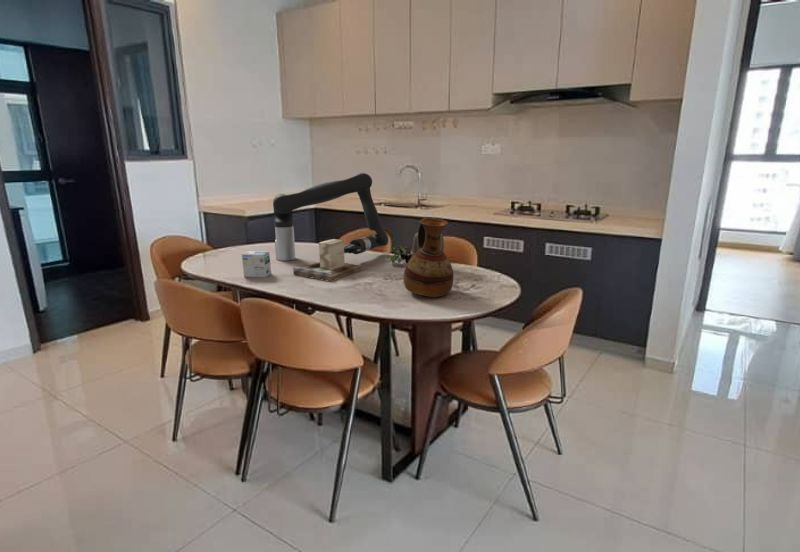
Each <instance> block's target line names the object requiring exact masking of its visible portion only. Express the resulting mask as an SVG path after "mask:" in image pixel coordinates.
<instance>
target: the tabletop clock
mask: <svg viewBox="0 0 800 552" xmlns="http://www.w3.org/2000/svg"><path fill="white" fill-rule="evenodd" d="M426 218H432V217H429V216H427V217H424V218H422V219H421V220H423V219H426ZM444 241H445V240H444V236H443V233H441V236H440V242H439V243H440V250H441V251H442V252H443V253H444V248H445V242H444ZM411 246H412V247H411V254H413V255H414V254H415V253H416V252H417V251H418V249H419V248H418V232H415V234H414V236H413V240H412V245H411Z"/></svg>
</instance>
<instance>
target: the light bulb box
mask: <svg viewBox="0 0 800 552" xmlns="http://www.w3.org/2000/svg"><path fill="white" fill-rule="evenodd" d="M241 258H242V259H241V262H242V270H243V277H244V278H267V277H269V276H271V274H272V267H271V256H270V251H268V250H267V251H263V250H262V251H257V250H255V251H253V250H252V251H250V250H248V251H246V252H243V253H241Z"/></svg>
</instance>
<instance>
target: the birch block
mask: <svg viewBox="0 0 800 552" xmlns="http://www.w3.org/2000/svg"><path fill="white" fill-rule="evenodd" d="M344 246H345V240H343V239H336V238H332V239H326V240H324V241H320V242H318V250H319V251H318V254H319V255H318V256H319V262H320V268H324V269H329V270H332V269H335V268H338V267H341V266H344V265H345V263H346V262H345V253H344Z"/></svg>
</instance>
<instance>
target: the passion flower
mask: <svg viewBox="0 0 800 552" xmlns="http://www.w3.org/2000/svg"><path fill="white" fill-rule="evenodd" d="M393 250H394V254H393V255H390V254H388V255H387V257H386V258H387V259H388V262H391V264H395V263H396V260H397V266H396V267H398V266H399V265H400V263H402V261H404V260H405V263H406V264H407V263H408V261H409V260H410V258H411V257H412V256H413V254H412V249H411V248H410V247H407V246H400V245H399V246H398V248H396V247H393Z"/></svg>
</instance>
